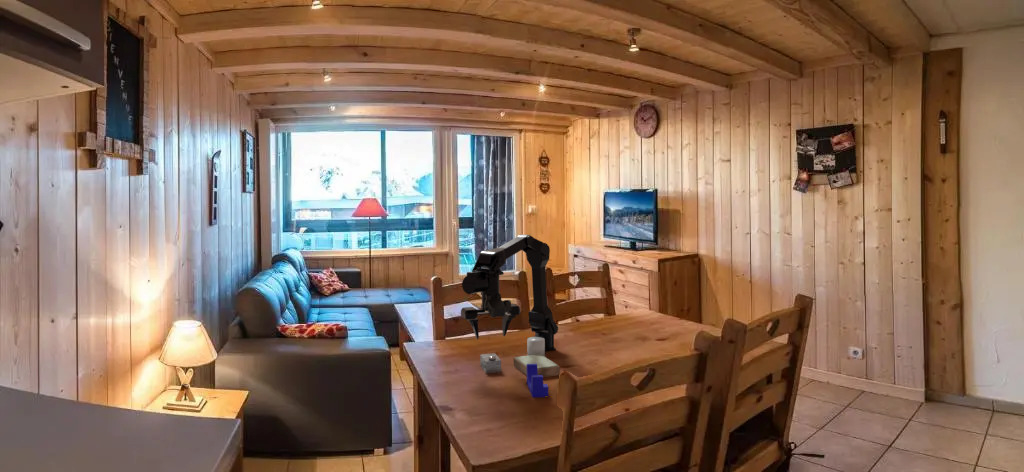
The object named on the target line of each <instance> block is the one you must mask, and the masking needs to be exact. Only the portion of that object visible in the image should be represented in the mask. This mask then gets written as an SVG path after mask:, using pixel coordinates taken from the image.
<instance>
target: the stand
mask: <svg viewBox="0 0 1024 472" xmlns="http://www.w3.org/2000/svg"><path fill="white" fill-rule="evenodd" d="M527 364H537V372H538V375H542V376H543V378H548V377H553V376H554V377H555V376H560V375H561V371H560V370H561V369H560V368H561V367H560V366H559V364H557V363H555V362H554V361H552V360H550V359H549V358H547V357H546V356H545V357H544V356H543V355H541V354H536V355H528V356H527V355H523V356H522V355H520V356H515V357H513V366H514V368H515V369H518V371H520V373H522V374H524V375H525V376H526V377H527ZM559 374H560V375H559Z"/></svg>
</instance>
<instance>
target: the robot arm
mask: <svg viewBox="0 0 1024 472" xmlns="http://www.w3.org/2000/svg"><path fill="white" fill-rule="evenodd" d="M520 251H522V252H524V253H525V255H526V261H527V262H528V264H529V265H530V267H531V278H532V279H531V280H532V283H531V285H532V297H533V300H532V301H533V306H532V308H531V310H529V311H528V323H529V325H530V329H531V332H533V333H534V336H533V337H542V338H544V339H545V352H548V351H555V350H557V348H556V347H555V335H556V334H558V330H559V326H558V324H557V323H556V322H555V321H554V317H553V313H552V310H551V309H550V307H549V306H548V296H547V294H548V291H547V289H548V288H547V273H546V271H547V270H546V267H547V264H548V262H549V261H550V251H551V249H550V246H549V244H547V243H546V242H543V241H541V240H539V239H537V238H534V236H532V235H531V234H522V233H521V234H519V235H517V236H516V237H514V238H512V239H511V240H509V241H508V242H506V243H504V244H502V245H501V246H498V247H495V248H489V249H485V250H482V251H481V252H480V253H479V255H478V257H477V260H476V261H475V263H474V266H473V268H472V270H471V271H467V272H466V276H464V277H463V279H462V282H461V287H462V291H463V292H464V293H465V294H467V295H473V294H478V293H480V296H481V304H480V308H479V309H477V308H475V307H473V306H467V307H462V308H461V309H460V317H462V318H463V319H465V320H466V321H468V322H469V323H470V325H471V328H472V330H473V333H474V335H475V338H476V340H479V338H480V336H479V335H480V333H479V319H478V317H479V316H483V315H485V316H486V315H490V317H491V318H496V317H501V319H502V320H501V321H502V324H501V325H502V327H501V328H502V330H501V331H502V336H504V337H506V334H507V331H508V329H509V326H510V323H511V322H512V320H513V319H514V318H517V316H519V315H521V307H520V306H519V305H517V304H515V303H512V301H511V300H510V299H504V300H503V299H502V296H501V295H502V294H501V293H500V276H502V275H504V274H505V273H504V271H502V270H501V268H502V267H503V266H504V265H506V261H507V260H508V259H509V258H511V257H513V256H514V255H516V254H517V253H519V252H520Z"/></svg>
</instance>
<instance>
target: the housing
mask: <svg viewBox="0 0 1024 472" xmlns="http://www.w3.org/2000/svg"><path fill="white" fill-rule="evenodd" d="M479 364H480V367H481V368H482V370H483V371H484V373H485V374H493V373H501V372H502V360H501V359H500V357H499V356H498V355H497V354H496V353H495V352H493V353H482V354H480V363H479Z"/></svg>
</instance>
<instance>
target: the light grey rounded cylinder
mask: <svg viewBox="0 0 1024 472" xmlns="http://www.w3.org/2000/svg"><path fill="white" fill-rule="evenodd" d="M526 341H527V344H526V348H527V349H526V350H527V351H526V352H527V354H526V356H528V355H536V354H541V355H543V356H544V357H546V354H545V353H546V351H545V339H544V338H542V337H534V336H531V337H528V338H527V340H526Z"/></svg>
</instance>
